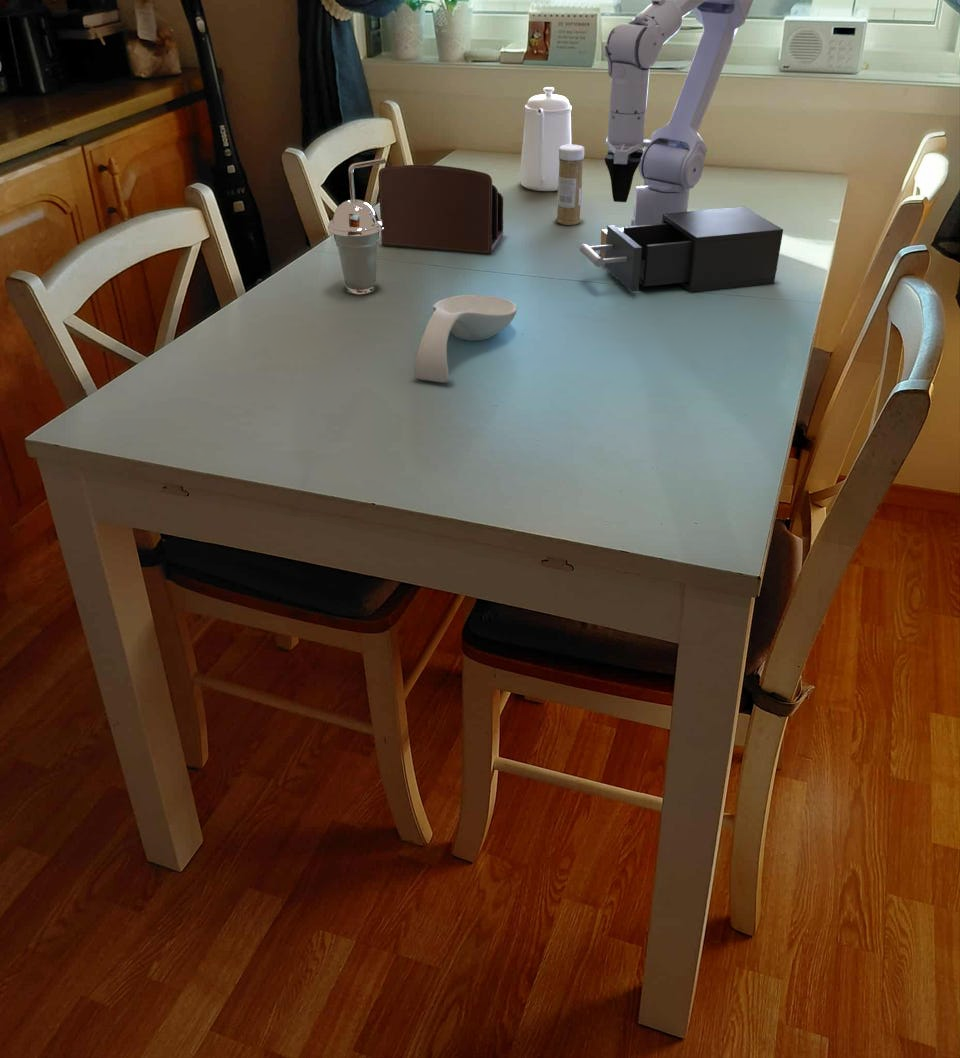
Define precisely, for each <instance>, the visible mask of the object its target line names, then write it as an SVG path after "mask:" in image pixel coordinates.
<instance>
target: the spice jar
mask: <svg viewBox="0 0 960 1058" xmlns="http://www.w3.org/2000/svg"><path fill="white" fill-rule="evenodd" d="M584 159H585V147H584V146H583V145H580V144H571V145H563V146H561V147H560V148H559V162H560V163H559V178H558V190H557V216H556V222H557V223H558V224H560V225H563V226H574V225H578V224H580V223H581V221H582V218H581V210H582V197H583V196H582V195H583V194H582V193H583V162H584Z"/></svg>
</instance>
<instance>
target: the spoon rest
mask: <svg viewBox="0 0 960 1058" xmlns="http://www.w3.org/2000/svg"><path fill="white" fill-rule="evenodd" d="M432 310H433V312H432V315H431V316H430V318H429V320H428V322H427V325H426V327H425V329H424V332H423V334H422V337H421V340H420V343H419V346H418V349H417V353H416V358H415V362H414V364H415V365H414V371H413V377H414V378H415V379H417V380H423V381H429V382H434V383H435V382H437V383H448V382H450V381H449V365H448V355H447V353H448V352H447V349H448V340H449V336H450V333H452V334H453V336H454V337H456V338H458V339H460V340H465V341H472V342H473V341H474V342H476V341H484V340H488V339H490V338H492V337H494V336H495V335H496V334H499V333H500V332H502V331H504V329H506V328H507V327H508V326H509V325H510V324H511V323H512V321H513V320H514V318H515V316H516V315H517V312H518V307H517V305H516V304H515V303H514V302H513V301H511V300H509V299H507V298H504V297H503V298H502V297H499V296H492V295H483V294H464V295H462V294H461V295H454V296H451V297H446V298H443V299H440V300H438V301H436V302H435V303H434V304H433V305H432Z"/></svg>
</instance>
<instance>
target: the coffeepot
mask: <svg viewBox="0 0 960 1058" xmlns="http://www.w3.org/2000/svg"><path fill="white" fill-rule="evenodd" d="M554 91H555V87H553V86H545V87H543V92H544V93H542V94H536V95H533V96H531V97H530V98H529V99H528V101H527V103H526V104H525V105H524V112H525V113H524V114H525V115H524V125H523V135H522V148H521V158H520V170H519V183H520V185H521V186H522V187H524V188H525V189H528V190H531V191H536V192H555V191H556V192H558V178H559V163H560V162H559V148H560V147H561V146H563V145H572V116H571V115H572V114H571V113H572V110H573V109H572V108H573V106H572V104H570V101H569V99H568V98H567V97H566V96H565V95H561V94H554V93H553V92H554Z"/></svg>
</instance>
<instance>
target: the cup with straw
mask: <svg viewBox="0 0 960 1058" xmlns="http://www.w3.org/2000/svg"><path fill="white" fill-rule="evenodd" d="M382 164H387V161H386V158H385V157H383V158H378V159H377V158H376V159H371V160H367V161H366V160H365V161H360V162H359V161H358V162H355V163H352V164H350V165H349V167H348V181H349V193H350V199H348V200H344V201H343V202H342V203H340V204H339V205H338V206H337V208H335V210H334V213H333V216H332V219H331V220H329V222H328V227H327V230H328V232H329V233H331V234H333V239H334V241H335V245H336V247H337V252H338V256H339V261H340V265H341V270H342V275H343V280H344V284H345V286H346V289H345V290H346V292H347V293H348V294H352V295H357V296H358V295H359V296H360V295H368V294H371V293H373V292H375V290H376V282H377V261H378V260H377V259H378V245H379V239H380V233H381V231H382V230H383V228H384V225H383V221H382V220H381V219H380V217H379V216H378V213H377V211H376V210H375V208H374V207H373V206H372V205H371V204H370V203H368V202H366V201H365V200H362V199H358V198H356V189H355V177H354V175H355V174H354V170H355V169H359V168H365V167H371V166H377V165H382Z"/></svg>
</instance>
